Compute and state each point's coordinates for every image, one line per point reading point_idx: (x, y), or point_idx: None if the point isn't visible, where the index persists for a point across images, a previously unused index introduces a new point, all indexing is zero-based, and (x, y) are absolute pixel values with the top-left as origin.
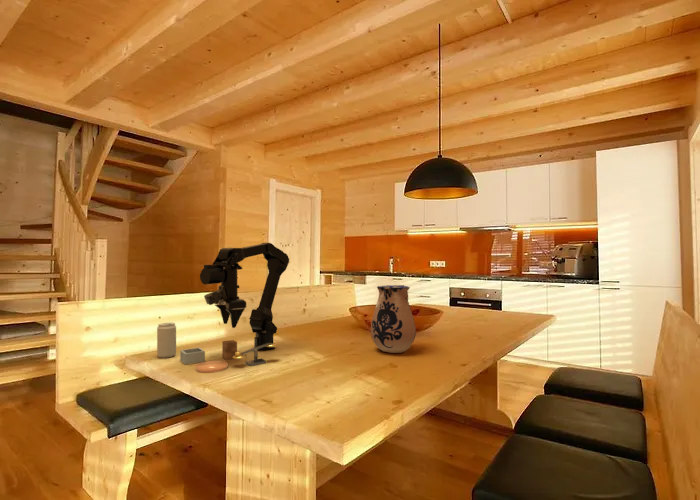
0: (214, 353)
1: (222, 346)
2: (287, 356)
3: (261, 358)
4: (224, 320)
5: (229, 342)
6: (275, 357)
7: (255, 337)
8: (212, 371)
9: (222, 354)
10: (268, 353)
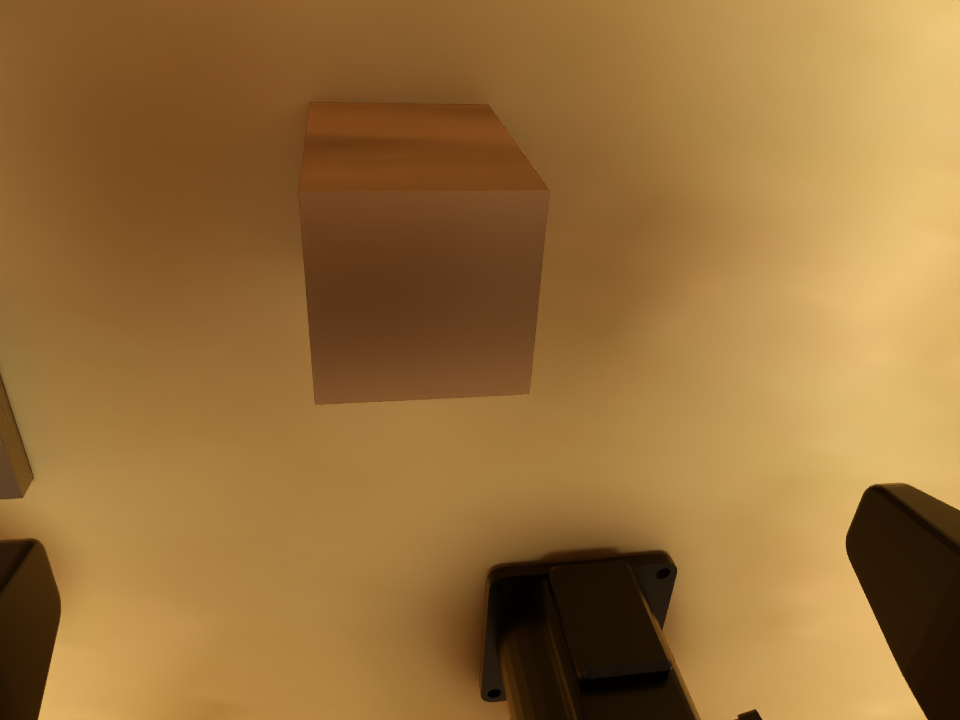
0: (810, 89)
1: (521, 157)
2: (109, 707)
3: (20, 495)
4: (940, 568)
5: (345, 276)
6: (126, 619)
7: (642, 670)
8: None
9: (494, 118)
10: (345, 606)
